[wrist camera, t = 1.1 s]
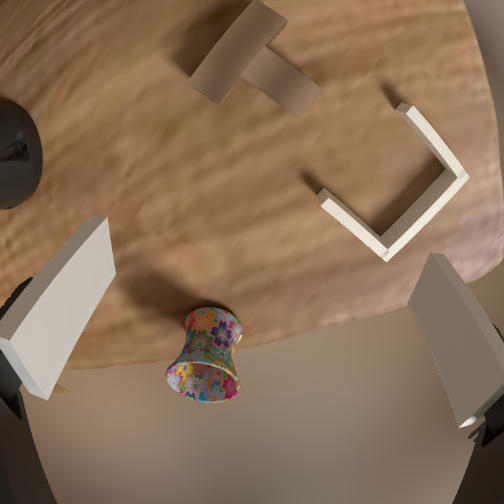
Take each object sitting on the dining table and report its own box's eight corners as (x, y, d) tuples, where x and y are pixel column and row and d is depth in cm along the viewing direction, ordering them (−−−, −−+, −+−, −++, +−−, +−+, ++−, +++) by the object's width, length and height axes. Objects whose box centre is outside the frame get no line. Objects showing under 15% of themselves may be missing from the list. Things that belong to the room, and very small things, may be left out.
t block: (196, 82, 27) (186, 83, 24) (256, 8, 23) (254, -2, 20) (275, 138, 30) (276, 146, 27) (337, 67, 26) (346, 65, 22)
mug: (187, 293, 42) (167, 353, 33) (253, 309, 42) (248, 371, 33) (178, 347, 48) (163, 401, 39) (234, 360, 49) (227, 416, 40)
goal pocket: (316, 195, 33) (320, 206, 31) (401, 102, 27) (413, 105, 24) (379, 248, 36) (386, 262, 34) (456, 169, 30) (469, 177, 27)
